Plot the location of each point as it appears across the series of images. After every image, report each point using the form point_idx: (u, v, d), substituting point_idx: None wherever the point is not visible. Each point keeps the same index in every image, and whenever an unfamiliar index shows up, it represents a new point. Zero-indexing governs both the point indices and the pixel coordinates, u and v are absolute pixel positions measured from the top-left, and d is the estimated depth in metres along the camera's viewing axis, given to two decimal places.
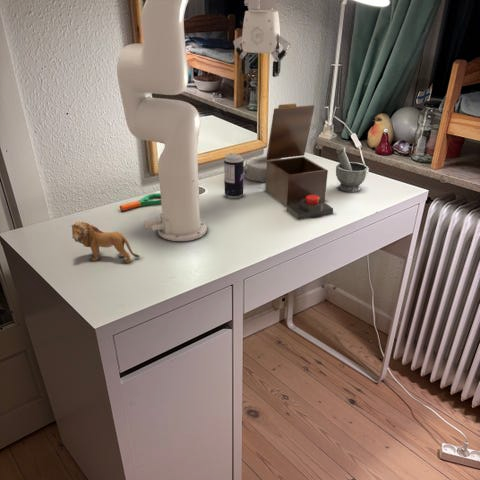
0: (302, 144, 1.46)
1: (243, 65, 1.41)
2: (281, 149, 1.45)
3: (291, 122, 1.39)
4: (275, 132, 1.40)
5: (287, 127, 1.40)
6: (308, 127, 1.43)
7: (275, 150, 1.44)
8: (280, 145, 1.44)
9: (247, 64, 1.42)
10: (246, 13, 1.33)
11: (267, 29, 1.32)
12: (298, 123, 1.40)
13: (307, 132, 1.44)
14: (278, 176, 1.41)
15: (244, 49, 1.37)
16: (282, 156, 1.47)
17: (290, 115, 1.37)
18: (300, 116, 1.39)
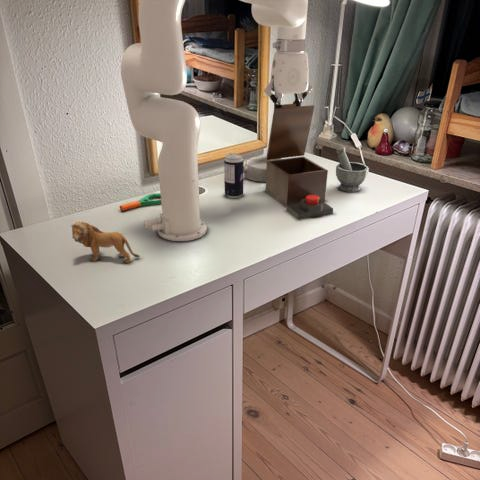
0: (302, 144, 1.46)
1: None
2: (281, 149, 1.45)
3: (291, 122, 1.39)
4: (275, 132, 1.40)
5: (287, 127, 1.40)
6: (308, 127, 1.43)
7: (275, 150, 1.44)
8: (280, 145, 1.44)
9: None
10: (282, 56, 1.30)
11: (303, 69, 1.33)
12: (298, 123, 1.40)
13: (307, 132, 1.44)
14: (278, 176, 1.41)
15: (280, 91, 1.34)
16: (282, 156, 1.47)
17: (290, 115, 1.37)
18: (300, 116, 1.39)
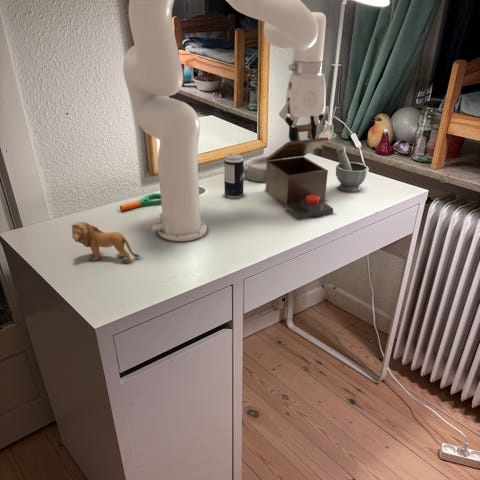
0: (305, 153, 1.46)
1: (296, 134, 1.33)
2: (283, 156, 1.44)
3: (300, 147, 1.37)
4: (281, 151, 1.38)
5: (295, 149, 1.38)
6: (316, 147, 1.41)
7: (277, 157, 1.44)
8: (283, 155, 1.43)
9: None
10: (298, 78, 1.24)
11: (320, 92, 1.28)
12: (307, 147, 1.39)
13: (313, 148, 1.43)
14: (278, 176, 1.41)
15: (296, 114, 1.29)
16: (282, 158, 1.47)
17: (301, 145, 1.35)
18: (311, 144, 1.37)
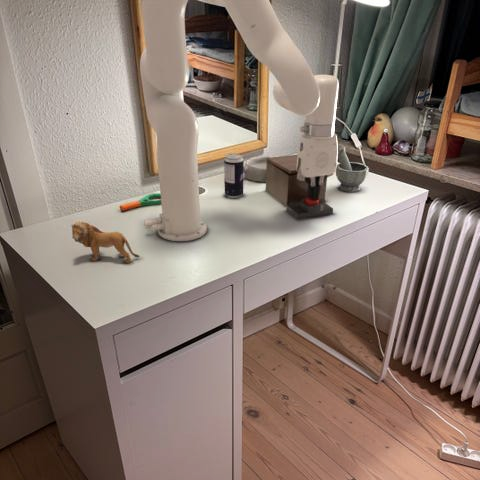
0: None
1: (315, 192, 1.32)
2: None
3: None
4: None
5: None
6: None
7: None
8: None
9: None
10: (310, 140, 1.22)
11: (332, 152, 1.26)
12: None
13: None
14: (278, 176, 1.41)
15: (307, 175, 1.26)
16: None
17: None
18: None
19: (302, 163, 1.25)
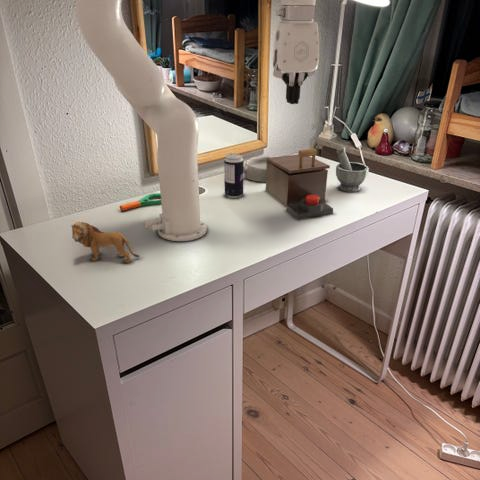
0: None
1: (294, 93, 1.17)
2: None
3: None
4: None
5: None
6: None
7: None
8: None
9: None
10: (287, 26, 1.07)
11: (313, 43, 1.11)
12: None
13: None
14: (278, 176, 1.41)
15: (284, 69, 1.12)
16: None
17: None
18: None
19: (278, 55, 1.10)
